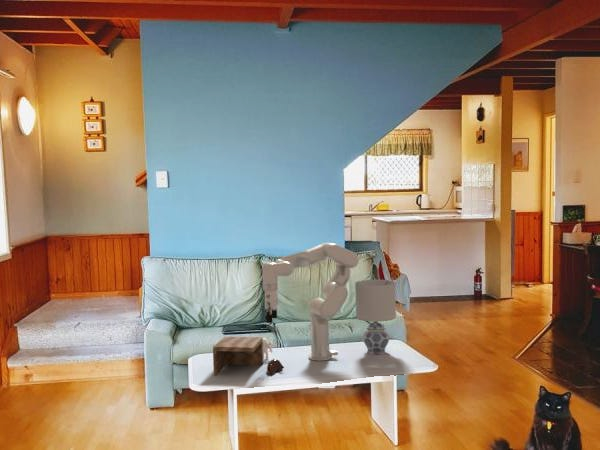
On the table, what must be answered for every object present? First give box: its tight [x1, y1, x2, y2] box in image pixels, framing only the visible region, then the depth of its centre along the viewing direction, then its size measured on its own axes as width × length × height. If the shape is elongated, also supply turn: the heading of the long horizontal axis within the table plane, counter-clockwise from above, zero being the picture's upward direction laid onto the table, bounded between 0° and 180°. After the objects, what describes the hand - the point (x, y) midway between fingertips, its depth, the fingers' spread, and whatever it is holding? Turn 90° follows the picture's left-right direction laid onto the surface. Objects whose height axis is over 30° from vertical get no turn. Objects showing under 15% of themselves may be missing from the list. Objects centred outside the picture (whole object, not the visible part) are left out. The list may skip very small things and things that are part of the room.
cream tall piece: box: [262, 335, 274, 361], centre depth 307 cm, size 9×4×12 cm, turn 98°
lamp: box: [354, 279, 397, 355], centre depth 315 cm, size 22×22×38 cm
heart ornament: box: [266, 358, 285, 376], centre depth 286 cm, size 6×12×11 cm
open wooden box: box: [212, 336, 264, 376], centre depth 289 cm, size 20×20×14 cm
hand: (271, 320), depth 295 cm, fingers open, 9 cm apart
